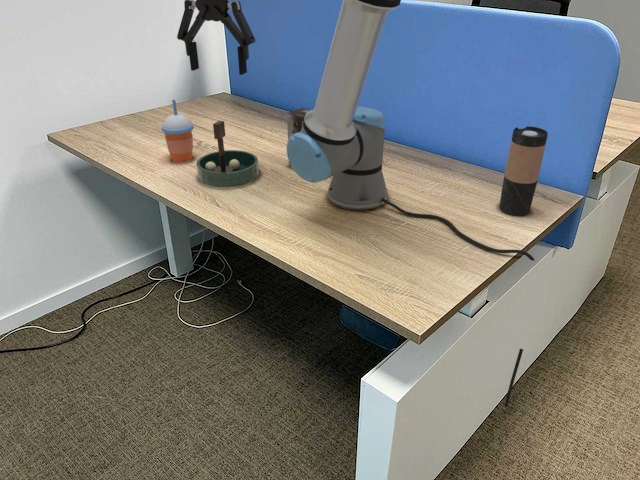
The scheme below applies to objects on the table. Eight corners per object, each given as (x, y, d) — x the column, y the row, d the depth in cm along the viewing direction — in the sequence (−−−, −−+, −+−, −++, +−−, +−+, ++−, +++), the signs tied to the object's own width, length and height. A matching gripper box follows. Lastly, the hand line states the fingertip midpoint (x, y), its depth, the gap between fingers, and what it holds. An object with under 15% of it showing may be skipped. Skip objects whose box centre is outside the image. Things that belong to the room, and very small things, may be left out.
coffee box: (325, 168, 151) (326, 113, 143) (310, 175, 147) (309, 119, 139) (303, 160, 157) (302, 107, 148) (287, 166, 153) (286, 112, 144)
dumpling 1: (213, 175, 146) (215, 165, 145) (202, 171, 146) (205, 162, 145) (216, 171, 149) (218, 162, 148) (206, 168, 149) (208, 158, 147)
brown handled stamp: (236, 174, 146) (232, 120, 138) (228, 182, 142) (222, 126, 134) (220, 172, 147) (214, 118, 140) (211, 179, 143) (204, 124, 135)
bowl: (271, 174, 148) (270, 159, 145) (227, 194, 136) (225, 178, 134) (230, 160, 157) (229, 145, 154) (185, 178, 146) (183, 162, 143)
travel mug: (526, 219, 125) (544, 139, 115) (494, 211, 128) (509, 133, 118) (533, 206, 130) (551, 129, 120) (502, 199, 134) (517, 123, 124)
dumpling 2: (240, 167, 151) (239, 171, 148) (229, 167, 150) (228, 171, 148) (240, 157, 149) (239, 161, 147) (229, 157, 149) (228, 161, 146)
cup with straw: (190, 166, 152) (181, 105, 143) (161, 164, 154) (151, 103, 145) (202, 155, 160) (195, 96, 151) (174, 153, 162) (166, 94, 152)
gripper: (265, -23, 121) (270, 71, 131) (172, -25, 128) (183, 64, 138) (251, -20, 115) (257, 78, 125) (154, -23, 121) (167, 70, 132)
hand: (218, 71), depth 132 cm, fingers open, 13 cm apart
